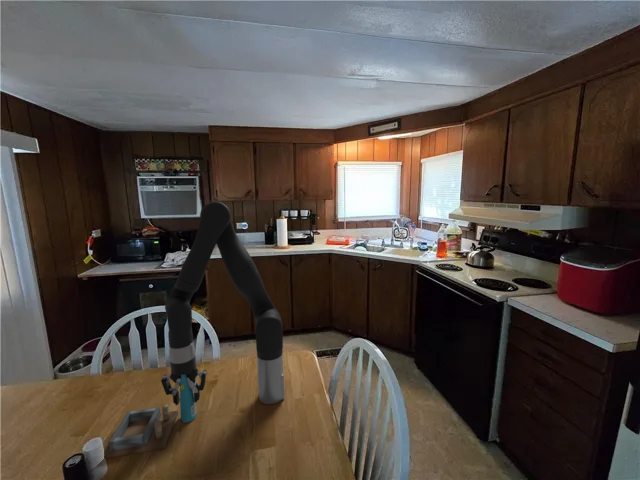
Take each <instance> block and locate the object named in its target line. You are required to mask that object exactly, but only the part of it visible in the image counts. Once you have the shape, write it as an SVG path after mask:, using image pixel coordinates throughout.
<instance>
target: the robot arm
mask: <svg viewBox="0 0 640 480" xmlns="http://www.w3.org/2000/svg"><path fill="white" fill-rule="evenodd" d="M199 218H200V219H199V225H198V228H197V233H196V236H195V239H194V241H193V244H192V246H191V248H190V250H189V252H188V254H187V256H186V258H185V260H184V261H183V263H182V266H181V269H180V271H179V274H178V276H177V279H176V282H175V284H174V285H173V287H172V288H171V291H170V292H169V294H168V297H167V299H166V300H165V305H164V310H165V314H166V318H167V319H166V320H167V326H168V332H167V333H168V336H167V337H168V347H169V348H168V353H169V354H168V359H169V364H170V374H163V376H162V379H161V380H160V382H161V385H162V387H163V390H164V393H165V395H167V396H168V395H171V396H172V402H173V404H175V406H178V405H180V390H179V389H180V382H181V375H185V374H186V375H187V381H188V384H189V386H190V388H192V389H193V394H194V401H195V403H198V401H199V400H200V396H201V393H200V392H201V391H204V388H205V386H206V380H207V373H208V371H207V369H204V370H202V371H201V370H198V368H197V358H196V350H195V349H196V348H195V343H194V335H193V328H192V326H193V325H192V324H193V311H192V307H191V304H190V302H191V300H192V297H193V296H194V294H195V293H196V292H197V291H198V290H199V288H200V286H201V284H202V281H203V278H204V277H205V274H206V271H207V268H208V265H209V262H210V261H211V256H212V254H213V251H214V250H215V246H217V248H218V251H219V254H220V257H221V259H222V262H223V265H224V267H225V269H226V272H227V273H228V275H229V277H230V279H231V282H232V283H233V285H234V287H235V288H236V290H237V291H238V293H239V294H241V296H242V297H243V299H245V300H246V302H247V303H248V305H249V307H250V309H251V311H252V314H253V316H254V321H255V347H256V363H257V384H258V399H259V401H260V402H261V403H262V404H265V405H274V404H277V403H279V402H280V401H283V400H285V376H284V360H283V359H284V358H283V357H284V354H283V349H284V342H283V341H284V338H283V337H284V333H283V332H284V331H283V322H282V317H281V314H280V313H279V310H278V309H277V308H276V307H275V305H274V303H273V302H272V300H271V299H270V297H269V294H268V293H267V291H266V288H265V284H264V282H263V280H262V277H261V275H260V272H259V270H258V268H257V266H256V264H255V261H254V260H253V259H252V256H251V255H250V253H249V252H248V250H247V248H246V247H245V246H244V243H242V242H241V240H240V238H239V237H238V234H237V232H236V231H235V229H234V225H233V223H232V220H231V219H232V214H231V211H230V209H229V207H228V206H227V205H226V204H225V203H223V202H221V201H209V202H208V203H206V204H205V205H203V207H202V208H201V210H200V214H199ZM197 377H198V378H199V379H200V384H199V383H198V380H197ZM170 381H173V382H174V384H175V385H174V387H172V384H171V382H170Z"/></svg>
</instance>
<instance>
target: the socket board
mask: <svg viewBox="0 0 640 480" xmlns="http://www.w3.org/2000/svg"><path fill="white" fill-rule="evenodd" d="M161 411H162V412H161ZM178 415H179V414H178V410H173V411H170V410H169V404H168V403H167V404H166V403H165V404H163V405H162V406H161V407H154V408H153V407H152V408H144V409H139V410H138V409H137V410H131V411H127V412H126V413H125V415H123V418H122V419H121V421H120V422H119V424H118V425H117V426H118V427H117V428H116V430H115V432H114V433H113V435H112V436H111V438H110V440H109V441H108V445H109V446H108V448H106V449H107V450H106V451H105V453H104V454H105V456H106V458H105V459H109V458H115V457H116V458H117V457H123V456H128V455H134V454H140V453H141V454H142V453H147V452H153V451H159V450H160V451H161V450H164V449H166V447H167V444H168V441H169V439H170V436H171V433H172V430H173V428H174V425H175V422H176V420H177V418H178ZM105 456H104V457H105Z"/></svg>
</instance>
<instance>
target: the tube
mask: <svg viewBox="0 0 640 480" xmlns="http://www.w3.org/2000/svg"><path fill="white" fill-rule="evenodd" d="M179 399H180V401H179V405H180V406H179V407H180V410H179V411H180V421H181V422H183V423H190V422H192V421H193V420H195V419H196V417H197V414H198V413H197V407H196V402H195V401H194V391H193V389H192V388H190V386H189V384H188V381H187V375H186V374H185V375H181V382H180V386H179Z"/></svg>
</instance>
